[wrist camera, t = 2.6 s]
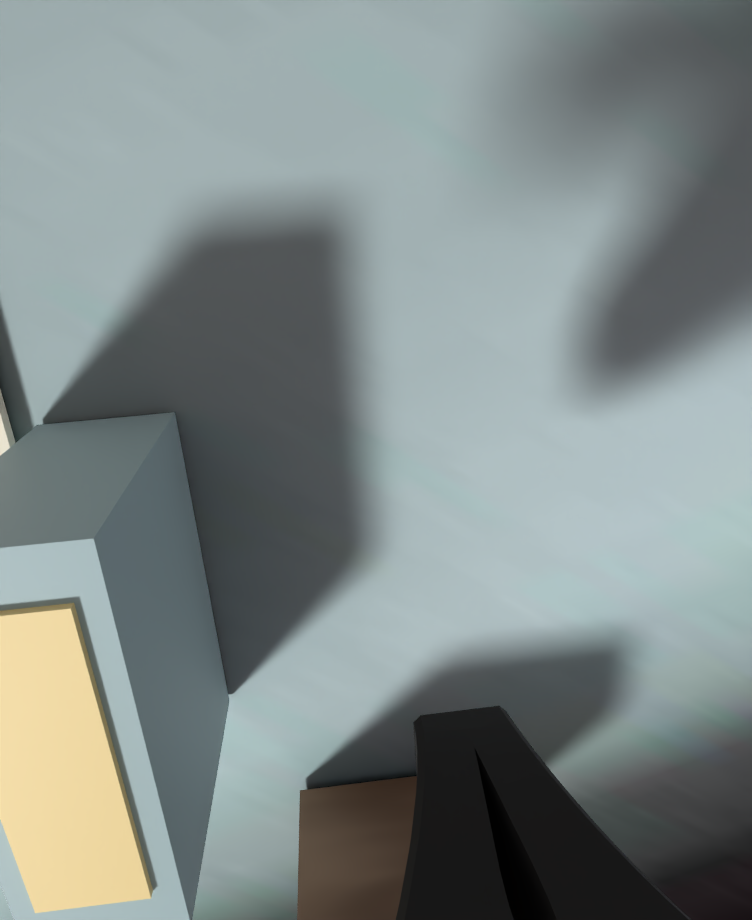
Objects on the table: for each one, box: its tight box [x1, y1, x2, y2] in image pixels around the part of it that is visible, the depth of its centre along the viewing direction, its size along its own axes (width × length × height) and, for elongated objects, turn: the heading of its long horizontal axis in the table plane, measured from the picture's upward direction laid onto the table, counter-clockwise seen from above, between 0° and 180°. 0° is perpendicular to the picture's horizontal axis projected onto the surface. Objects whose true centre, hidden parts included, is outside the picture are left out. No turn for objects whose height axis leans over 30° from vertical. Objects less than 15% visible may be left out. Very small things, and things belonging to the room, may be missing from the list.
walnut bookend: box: [297, 776, 417, 920], centre depth 17 cm, size 5×2×6 cm, turn 94°
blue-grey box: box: [0, 412, 229, 920], centre depth 14 cm, size 3×8×6 cm, turn 5°
